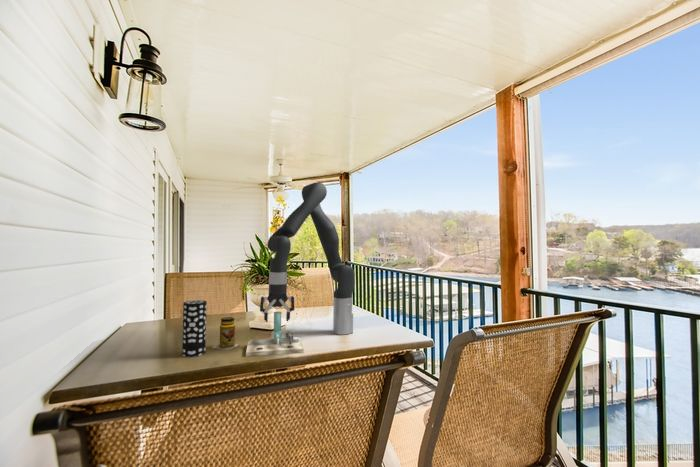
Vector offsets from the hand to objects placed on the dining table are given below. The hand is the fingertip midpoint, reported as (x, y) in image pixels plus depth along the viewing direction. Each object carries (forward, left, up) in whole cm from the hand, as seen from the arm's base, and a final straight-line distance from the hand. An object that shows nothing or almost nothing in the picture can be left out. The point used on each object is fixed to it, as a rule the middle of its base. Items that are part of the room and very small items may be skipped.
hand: (276, 321), depth 143 cm
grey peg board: (+1, +4, -11) cm, 11 cm away
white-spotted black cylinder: (+32, +3, -11) cm, 34 cm away
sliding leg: (0, +3, -8) cm, 8 cm away
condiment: (+21, -4, -11) cm, 24 cm away
